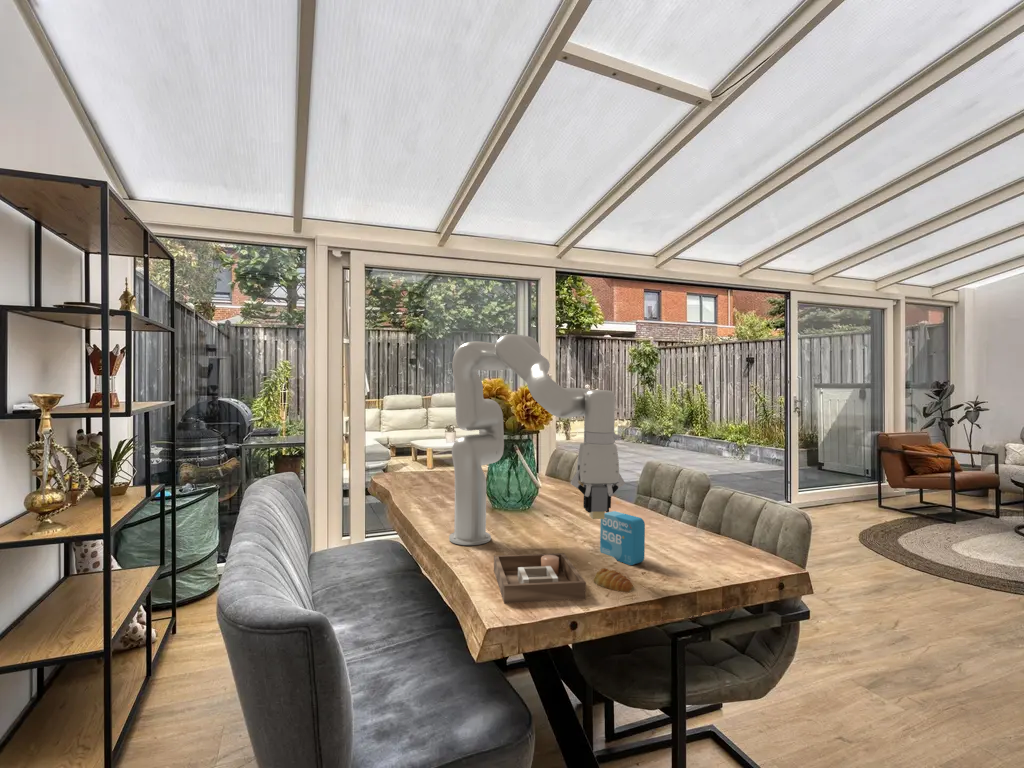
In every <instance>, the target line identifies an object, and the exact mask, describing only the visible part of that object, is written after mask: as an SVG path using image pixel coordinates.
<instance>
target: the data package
mask: <svg viewBox="0 0 1024 768" xmlns="http://www.w3.org/2000/svg"><path fill="white" fill-rule="evenodd" d="M599 527H600V530H599V531H600V534H599V536H600V537H599V539H600V540H599V541H600V542H599V543H600V544H599V548H600V549H599V550H600V553H601V554H604V555H607V556H610V557H613V559H615V560H616V561H617V562H619V561H620V562H619V563H622V562H623V563H622V564H626V565H629V566H633V565H637V564H640V563H643V562H644V560H645V549H646V548H645V547H646V546H645V545H646V542H645V540H646V539H645V538H646V535H645V533H646V532H645V531H646V528H645V527H646V524H645V521H644V519H643V518H642V517H638V516H635V515H630V514H627V513H624V512H619V511H616V510H612V511H609V512H605V514H604V519H600V526H599Z"/></svg>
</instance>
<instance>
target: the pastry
mask: <svg viewBox="0 0 1024 768" xmlns="http://www.w3.org/2000/svg"><path fill="white" fill-rule="evenodd" d="M593 583H594V584H595V585H597V586H599V587H602V588H604V589H608V590H613V591H616V592H620V593H621V592H623V593H630V592H632V591H633V590H634V588H635V587H634V584H633V583H632V582H631V579H628V577H627V576H626V575H623V574H622V573H621V572H620V571H619V572H618V571H616V570H614V569H612V570H611V569H610V570H609V569H608V568H605V567H603V568H600V569H599V570H598V571H597V572H596V573H595V575H594V577H593Z"/></svg>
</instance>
